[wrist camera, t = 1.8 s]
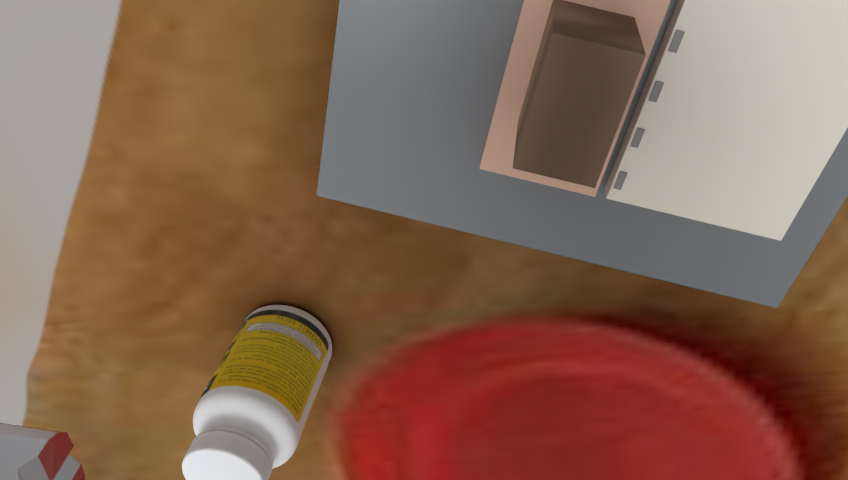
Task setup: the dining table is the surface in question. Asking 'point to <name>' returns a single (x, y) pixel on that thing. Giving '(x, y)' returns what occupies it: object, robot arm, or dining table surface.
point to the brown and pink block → (569, 89)
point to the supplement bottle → (259, 396)
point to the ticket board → (635, 147)
